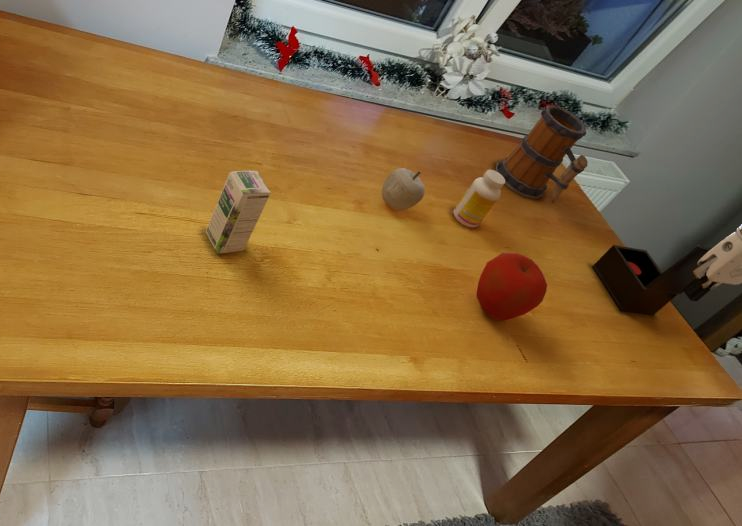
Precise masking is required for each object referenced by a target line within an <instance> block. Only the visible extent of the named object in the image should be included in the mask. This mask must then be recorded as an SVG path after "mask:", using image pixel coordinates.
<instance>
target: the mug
mask: <svg viewBox="0 0 742 526" xmlns="http://www.w3.org/2000/svg"><path fill="white" fill-rule="evenodd" d="M540 114H541V116H540V118H539V119H538V121H536V123H535V125H534V126H533V127H532V129H531V130H530V132H529V133H528V134H525V135H524V137H523V138H522V139H521V141H520V142H519V144H518V145H517V146H516V147H515V148H514V150H512V151H511V152H510V153H509V155H508V156H506V157H504V158H503V159H502V160H501V161H499V162H497V163H495V170H494V171H496V172H498V173H500V174H501V175H502V176H503V177H504V179H505V183H504V185H505V186H506V187H508V188H509V189H510V191H512V192H515V193H517V194H519V195H520V196H522V197H525V198H528V199H534V200H537V199H539V198H541V197H543V196H544V194H545V191H547V189H548V186H547V184H548V182H549V181H550V180H552V181H553V182H554V183H555V187H554V189H553V191H552V194H551V204H554V203H555V202H556V200H557V199H558V198H559V196H560V195H561V194H563V191H565V190H567V189H568V187H569V185H570V184H571V182H572V181H573V180H574V179H575V178H576V177H577V176H578V175H580V174H581V173H582V172H584V171H585V169H586V168H587V167H588V159H587V157H586V156H585V155H583V154H581V155H579V156H578V157H577V158H576V157H575V154H574V153H573V151H572V148H573V146H575V144H576V143H577V142H578V141H580V140H581V139H582V138H583V137H585V136H586V135H587V126H586V125H585V124H584V122H583V121H582V120H581V118H579V117H578V116H577V115H576V114H574V113H573V112H571V111H570V110H568V109H565V108H564V107H562V106H557V105H553V104H552V105H551V104H550V105H548V106H546V107H545V108H544V109H542V110H541V112H540ZM565 156H567V158H568V159H569V161H570V163H569V165H568V166H567V168H566V169H565V170H564V171H563V172H562V173H561V175H560V177H558V176H556V175H554V173H555V171H556V170H557V168H558V167H559V166H560V165H561V164H562V162H563V161H564V157H565Z"/></svg>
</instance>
